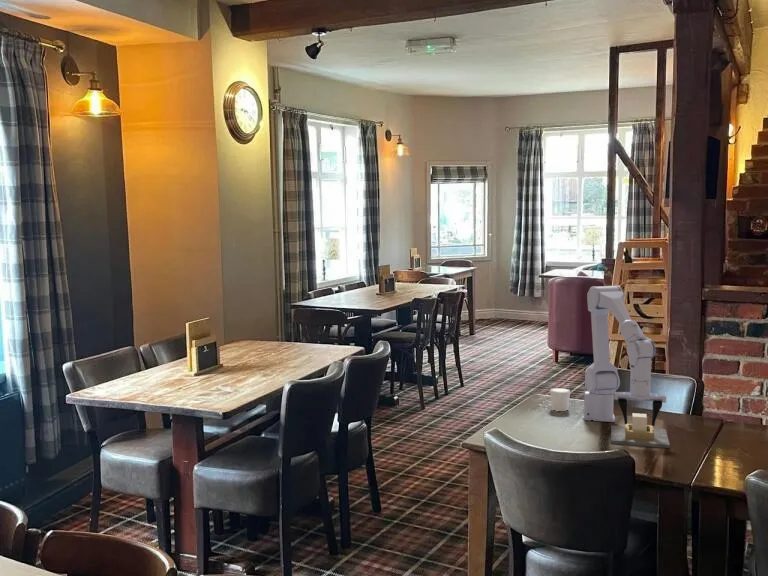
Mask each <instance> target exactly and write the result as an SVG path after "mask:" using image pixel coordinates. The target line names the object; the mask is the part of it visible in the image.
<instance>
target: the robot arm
mask: <svg viewBox="0 0 768 576" xmlns="http://www.w3.org/2000/svg"><path fill="white" fill-rule="evenodd" d="M586 295H587V296H586V299H587V300H586V301H587V311H588V312H590V319H591V335H592V337H591V338H592V353H593V362H592V364H590V365H588V367H587V368H586V369H585V370H586V371H585V373H586V374H585V378H584V383H585V387H586V389H587V390H588V391H584V405H583V406H584V407H583V410H582V412H583V420H585V421H591V420H593V422H594V421H595V422H608V423H610V422H611V423H615V414H614V403H615V402H614V400H615V401H618V405H619V408H620V410H621V412H622V416H623V420H624V425H625V424H628V413H627V411H628V410H627V409H628V401H637V402H638V401H640V402H641V401H642V402H652V411H651V412H652V415H651V425H652V426H653V427H655V425H656V421H657V416H658V415H659V412H660V411H661V409H662V407H663V403H664V404H666V403H667V395H666V394H659V393H652V392H651V378H652V377H651V374H652V367H651V366H652V359H653V358H654V357H656V356H655V355H656V345H655V342H654V341H653V340H652V339H651V338H649V337H648V336H645V334H644V333H643V331H642V329H641V326H640V325H639V324H638V322H637V321H636V320H634V319H631V317H630V314H629V312H628V310H627V308H626V305H625V303H624V300H625V293H624V290H623V289H622V288H621V286H620V285H608V286H607V285H606V286H602V285H601V286H600V285H599V286H595V285H594V286H593V285H592V286H591V287H590V288H589V290H588V292H587V294H586ZM610 312H611V313H612V315H613V316H614V318H615V319H616V320H617V322H618V324H619V328H618V331H619V333H620V334H621V336H622V338H623V340H624V342H625V343H626V345H627V346H626V354H627V356H628V364H629V365H630V369H629V370H630V373H629V375H630V376H629V379H630V380H629V391H617V390H618V389H619V387H620V385H621V381H620V379H621V378H620V376H619V372H618V367H616V366H615V365H614V364H613V363H612V362H611V358H610V357H611V355H610V353H611V351H610V340H609V338H610V337H609V323H608V315H609V314H610Z"/></svg>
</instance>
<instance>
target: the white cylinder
mask: <svg viewBox="0 0 768 576" xmlns="http://www.w3.org/2000/svg"><path fill="white" fill-rule="evenodd" d="M549 391H550V392H549V393H550V407H551V410H552V409H554V410H559V411H566V410H568V411H569V406H570V397H571V390H570V389H569V388H563V387H552V388H550V389H549ZM566 412H567V411H566Z"/></svg>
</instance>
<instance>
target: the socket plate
mask: <svg viewBox="0 0 768 576" xmlns="http://www.w3.org/2000/svg"><path fill="white" fill-rule="evenodd" d="M610 428H611V430H610V443H611V445H624V446H625V445H626V446H637V447H646V448H647V447H648V448H649V447H650V448H661V449H670V445H671V444H670V441H669V438H668V433H667V430H666V429H665V428H654V426H652V424H651V425H649V424H647V432H646V431H632V423H627V424H625V423H624V426H623V425H611V426H610Z"/></svg>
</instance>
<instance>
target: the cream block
mask: <svg viewBox="0 0 768 576" xmlns="http://www.w3.org/2000/svg"><path fill="white" fill-rule="evenodd" d="M647 415H648V414H647V413H639V412H638V413H635V412H632V414H631V424H632V431H646V432H647V425H648V416H647Z"/></svg>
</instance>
